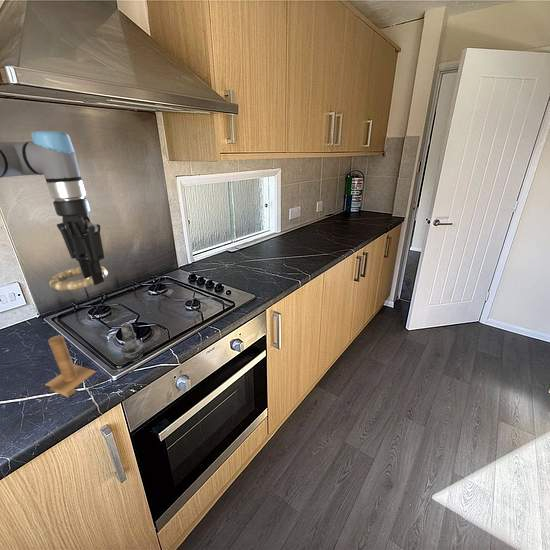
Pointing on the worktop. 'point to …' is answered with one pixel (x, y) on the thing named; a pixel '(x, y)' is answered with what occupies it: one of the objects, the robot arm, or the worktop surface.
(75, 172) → the robot arm
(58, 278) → the ring
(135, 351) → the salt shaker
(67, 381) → the post stand
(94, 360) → the worktop surface
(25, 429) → the worktop surface
